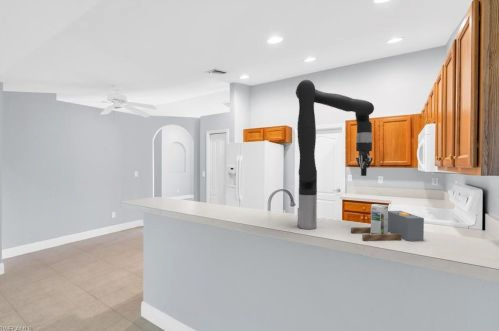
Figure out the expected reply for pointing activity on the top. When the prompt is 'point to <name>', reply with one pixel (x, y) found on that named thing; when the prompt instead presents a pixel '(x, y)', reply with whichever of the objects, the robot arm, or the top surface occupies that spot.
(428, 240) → the top surface
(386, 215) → the syrup box
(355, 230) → the guide rails
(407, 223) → the end cabinet
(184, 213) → the top surface
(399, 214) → the gauge button
